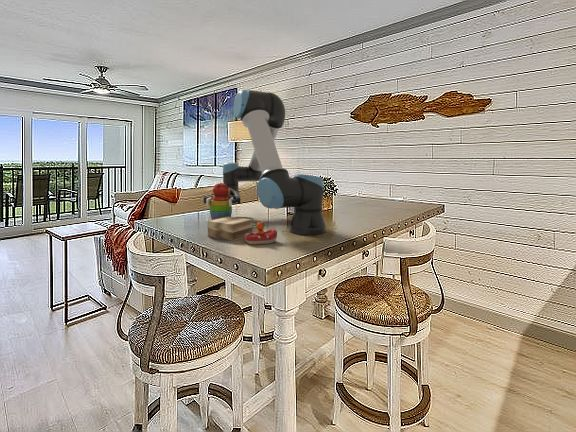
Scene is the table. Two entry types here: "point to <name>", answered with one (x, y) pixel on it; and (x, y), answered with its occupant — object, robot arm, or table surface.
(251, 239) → the toy boat
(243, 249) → the table surface
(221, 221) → the pedestal
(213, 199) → the stacking bear
